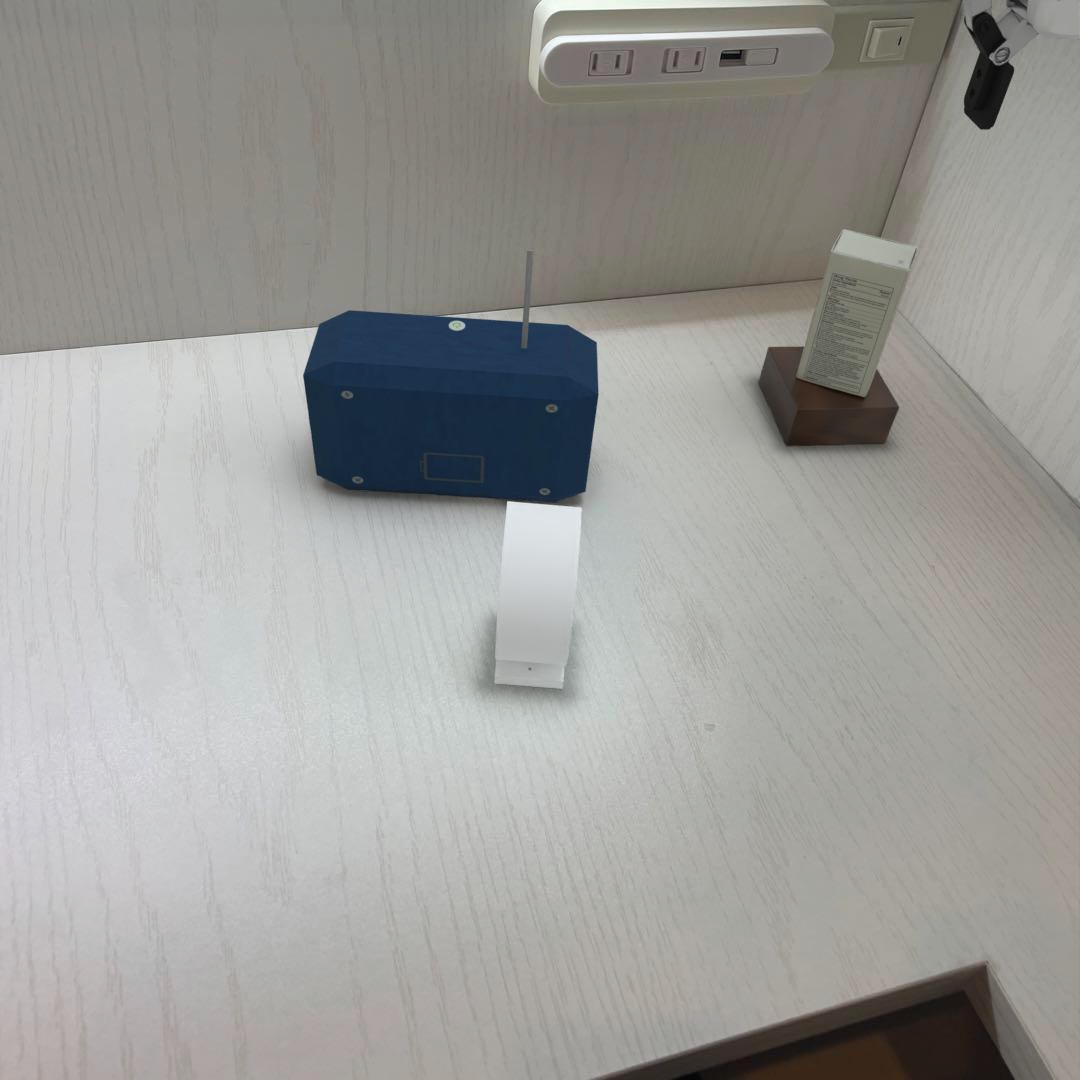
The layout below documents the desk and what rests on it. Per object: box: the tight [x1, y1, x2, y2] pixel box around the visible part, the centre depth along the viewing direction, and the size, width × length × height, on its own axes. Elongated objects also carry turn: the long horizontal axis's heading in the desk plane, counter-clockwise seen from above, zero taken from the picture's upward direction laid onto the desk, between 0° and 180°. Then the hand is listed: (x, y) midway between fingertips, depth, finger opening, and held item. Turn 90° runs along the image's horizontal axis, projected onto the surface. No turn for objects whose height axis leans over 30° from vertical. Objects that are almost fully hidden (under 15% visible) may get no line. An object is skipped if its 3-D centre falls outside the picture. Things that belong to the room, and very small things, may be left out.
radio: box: [302, 249, 599, 503], centre depth 72 cm, size 21×9×20 cm, turn 89°
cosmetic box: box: [796, 229, 919, 397], centre depth 80 cm, size 6×4×12 cm
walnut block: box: [758, 345, 900, 447], centre depth 86 cm, size 9×9×4 cm
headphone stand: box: [493, 500, 583, 690], centre depth 61 cm, size 5×6×12 cm
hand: (1045, 121), depth 64 cm, fingers open, 9 cm apart
